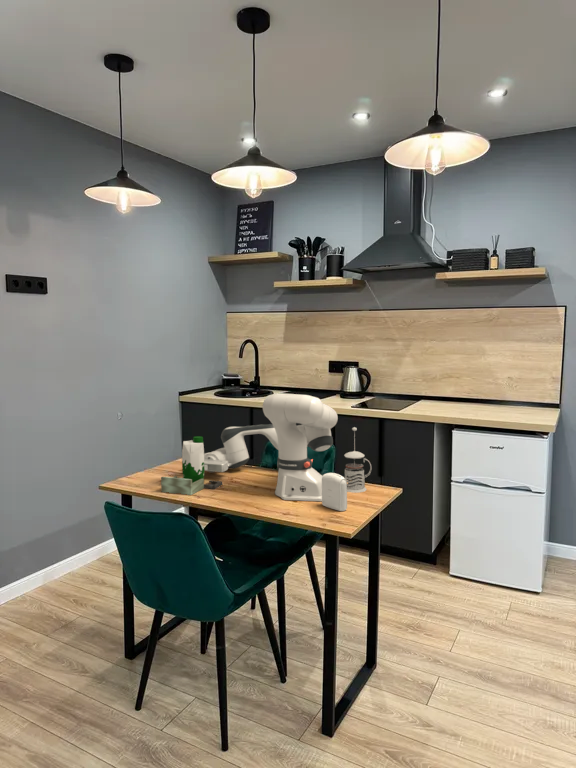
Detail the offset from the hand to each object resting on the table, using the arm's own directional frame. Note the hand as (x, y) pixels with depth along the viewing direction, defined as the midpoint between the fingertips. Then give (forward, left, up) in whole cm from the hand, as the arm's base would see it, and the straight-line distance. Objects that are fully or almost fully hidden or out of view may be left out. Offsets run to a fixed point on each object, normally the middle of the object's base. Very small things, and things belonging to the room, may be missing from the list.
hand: (196, 469), depth 224 cm
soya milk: (-1, +5, -6) cm, 7 cm away
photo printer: (-65, +15, -6) cm, 67 cm away
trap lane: (-1, +10, -5) cm, 11 cm away
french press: (-67, -11, -6) cm, 68 cm away
